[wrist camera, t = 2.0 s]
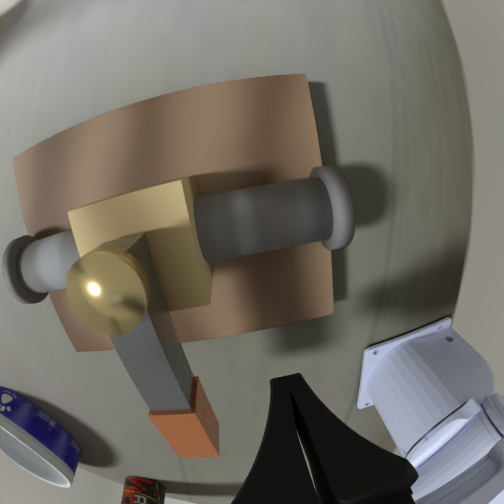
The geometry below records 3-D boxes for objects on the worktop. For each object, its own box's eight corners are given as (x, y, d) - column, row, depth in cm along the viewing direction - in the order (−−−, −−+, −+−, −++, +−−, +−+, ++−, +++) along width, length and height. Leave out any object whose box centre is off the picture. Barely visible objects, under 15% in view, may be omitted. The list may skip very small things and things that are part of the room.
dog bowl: (20, 437, 23) (8, 462, 17) (-24, 370, 18) (-44, 397, 12) (96, 467, 25) (88, 498, 19) (56, 405, 20) (37, 445, 14)
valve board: (298, 81, 13) (333, 47, 8) (326, 302, 18) (358, 352, 13) (25, 156, 13) (-30, 163, 7) (83, 340, 17) (54, 388, 12)
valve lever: (94, 236, 9) (54, 263, 6) (154, 221, 9) (127, 246, 7) (179, 426, 13) (175, 467, 10) (223, 423, 13) (224, 465, 10)
